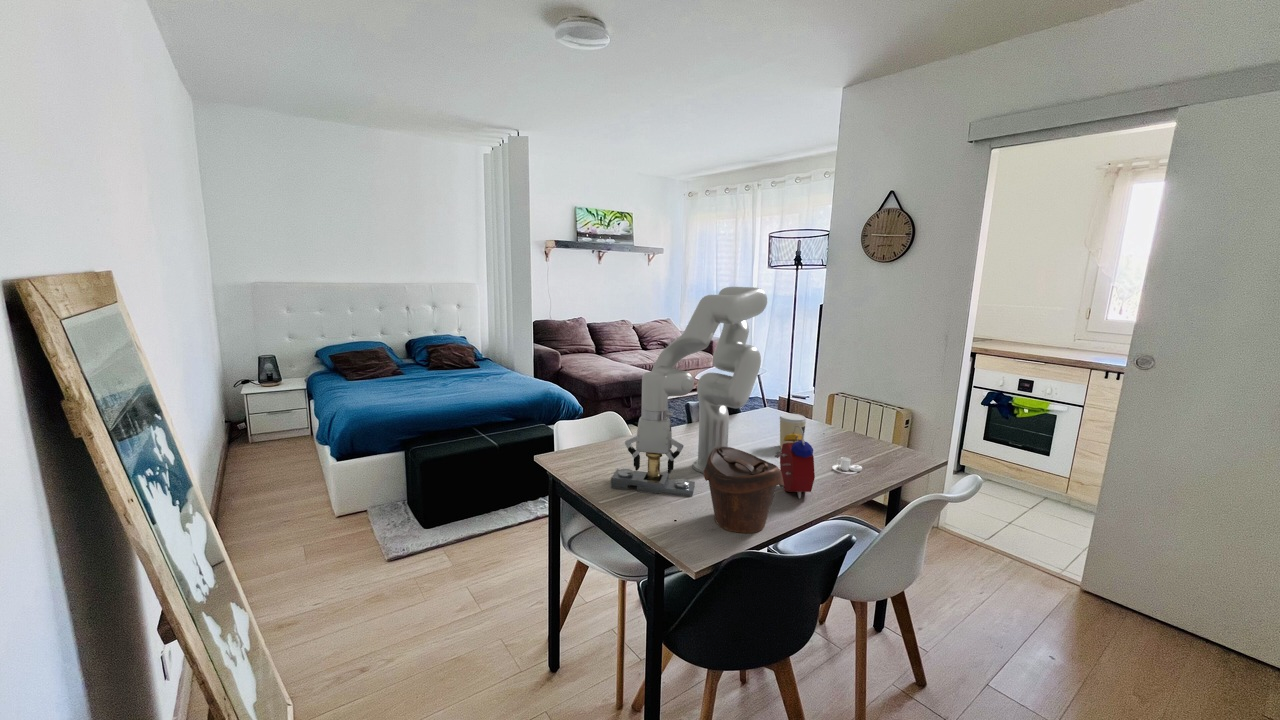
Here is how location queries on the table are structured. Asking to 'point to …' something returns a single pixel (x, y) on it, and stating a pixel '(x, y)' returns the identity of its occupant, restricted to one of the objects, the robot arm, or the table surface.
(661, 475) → the grey bolted base plate
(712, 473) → the brown flower pot
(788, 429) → the coffee cup
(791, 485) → the alarm clock
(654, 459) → the pin
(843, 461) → the teacup and saucer
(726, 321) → the robot arm
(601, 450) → the table surface
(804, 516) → the table surface
